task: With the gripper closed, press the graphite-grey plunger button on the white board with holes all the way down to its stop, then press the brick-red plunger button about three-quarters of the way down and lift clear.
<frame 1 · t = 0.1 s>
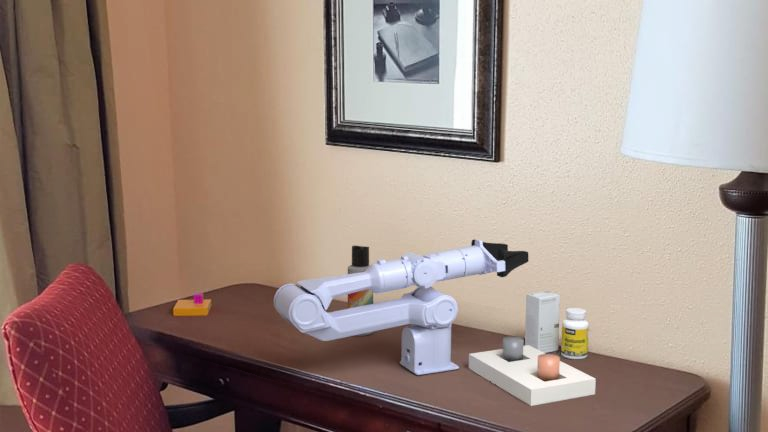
hand: (517, 252, 190), 22 cm above the table, tool horizontal, fingers open, 7 cm apart
yellow slab with magenta: (192, 313, 225), on the table
supplement bottle: (574, 356, 193), on the table
button near: (548, 367, 171), point 5 cm above the table, slide at 0.0 cm
button far: (512, 349, 182), point 5 cm above the table, slide at 0.0 cm
skincare box: (541, 351, 196), on the table
lotion bottle: (360, 333, 208), on the table
white board with holes: (529, 380, 177), on the table
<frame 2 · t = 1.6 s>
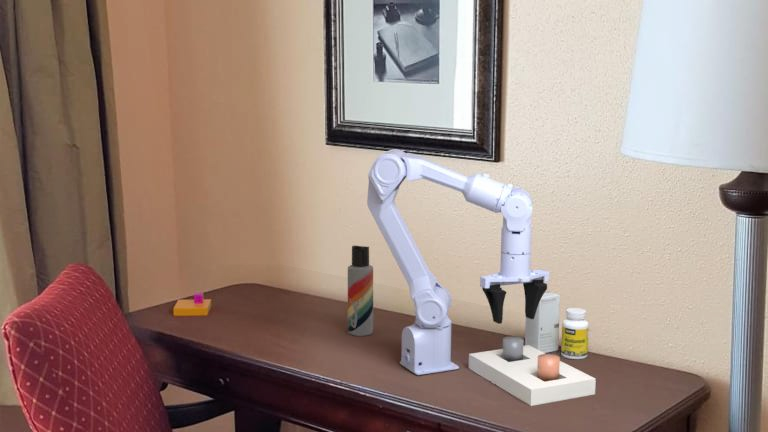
hand: (513, 320, 181), 10 cm above the table, tool pointing down, fingers open, 7 cm apart
nothing on the table moved.
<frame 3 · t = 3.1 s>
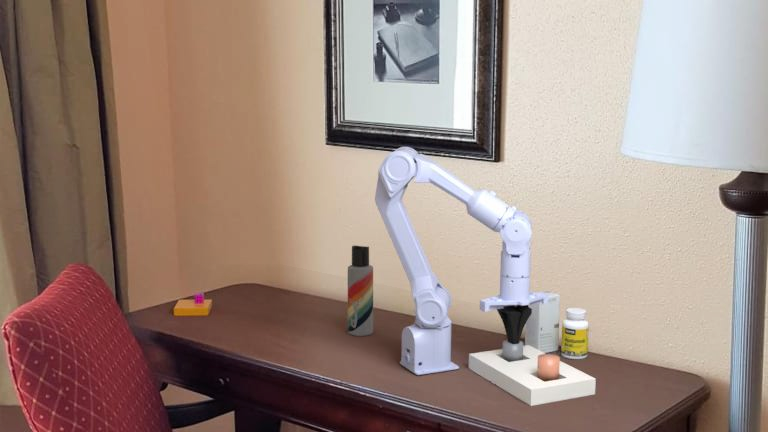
hand: (513, 342, 182), 6 cm above the table, tool pointing down, fingers closed, pressing on button far
button far: (512, 352, 182), point 4 cm above the table, slide at 0.6 cm, touching gripper
everything else where it was.
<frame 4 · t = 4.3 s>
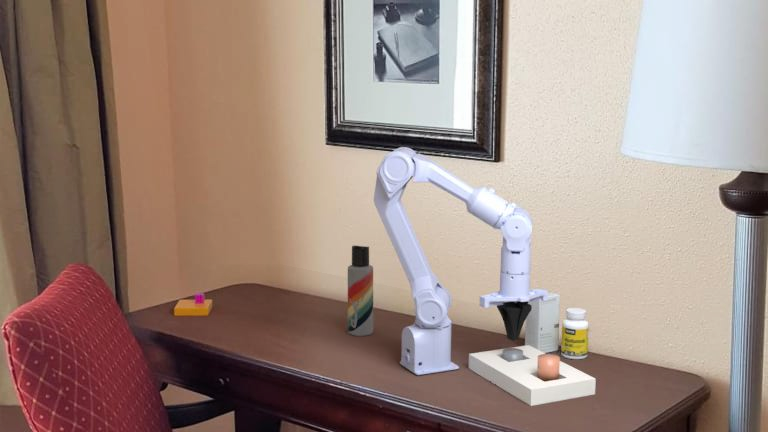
hand: (512, 339, 182), 7 cm above the table, tool pointing down, fingers closed
button far: (512, 361, 182), point 2 cm above the table, slide at 2.4 cm
everything else where it was.
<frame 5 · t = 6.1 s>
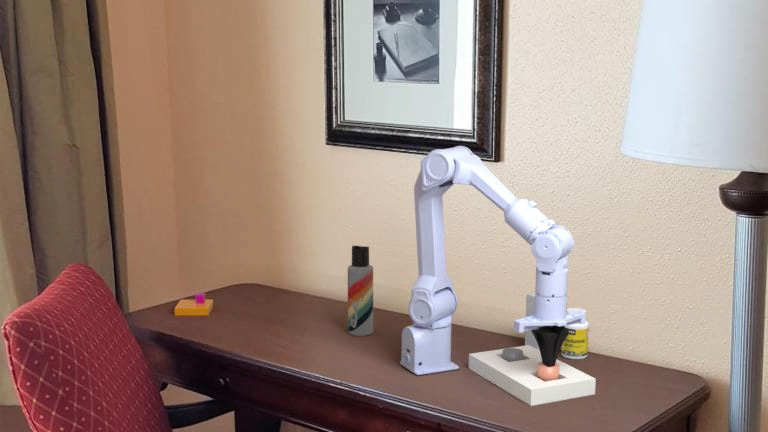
hand: (548, 365, 171), 5 cm above the table, tool pointing down, fingers closed, pressing on button near
button near: (548, 375, 172), point 3 cm above the table, slide at 1.5 cm, touching gripper
everything else where it was.
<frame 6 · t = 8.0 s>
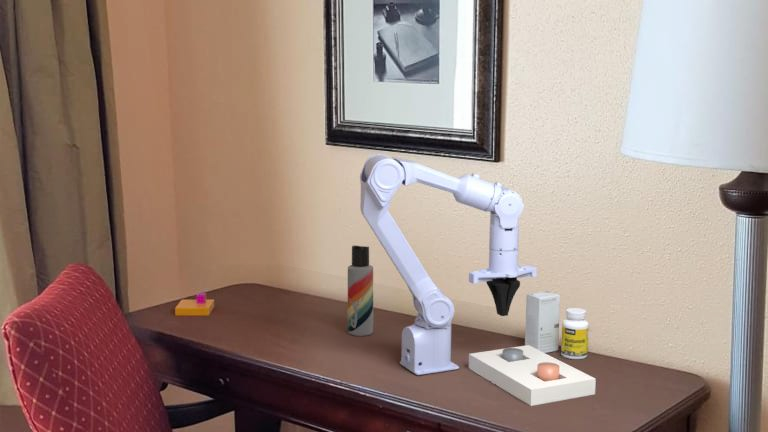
hand: (502, 314, 186), 10 cm above the table, tool pointing down, fingers closed
button near: (548, 376, 172), point 3 cm above the table, slide at 1.6 cm
everything else where it was.
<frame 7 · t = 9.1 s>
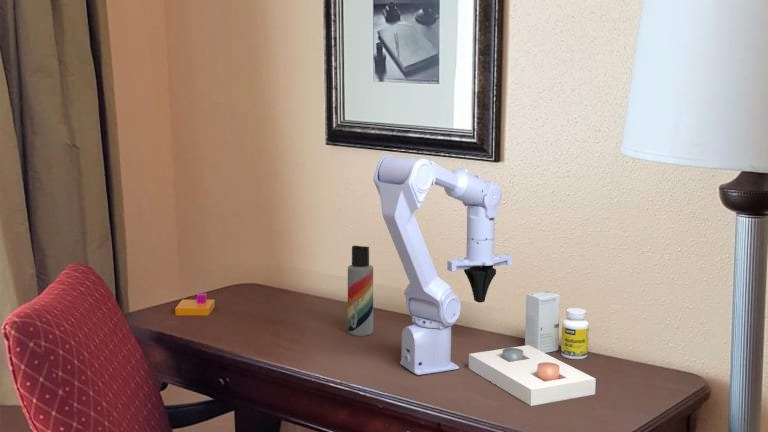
hand: (479, 301, 195), 10 cm above the table, tool pointing down, fingers closed
nothing on the table moved.
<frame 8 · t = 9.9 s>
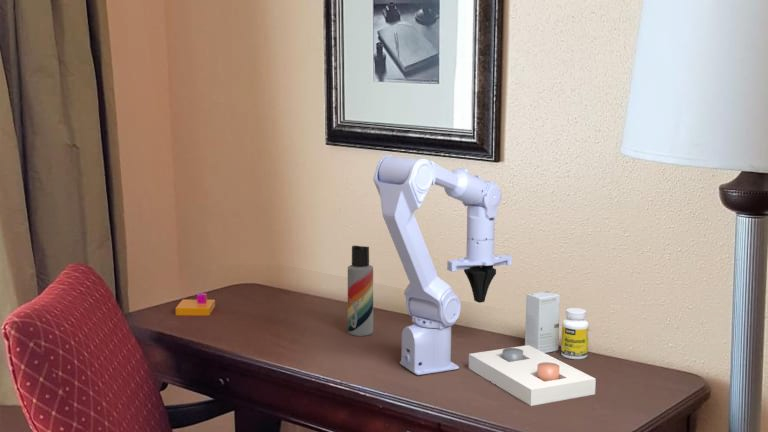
hand: (479, 301, 195), 10 cm above the table, tool pointing down, fingers closed
nothing on the table moved.
at the end: button far slide at 2.4 cm; button near slide at 1.6 cm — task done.
